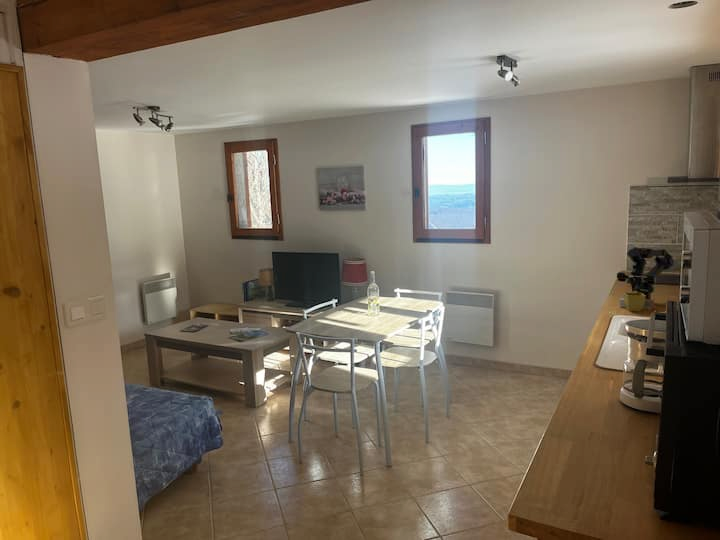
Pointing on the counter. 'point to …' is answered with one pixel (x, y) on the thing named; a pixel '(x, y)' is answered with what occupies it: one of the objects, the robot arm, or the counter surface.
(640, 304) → the flower pot
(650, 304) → the walnut block
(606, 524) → the counter surface
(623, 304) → the grey block
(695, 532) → the counter surface
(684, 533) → the counter surface
